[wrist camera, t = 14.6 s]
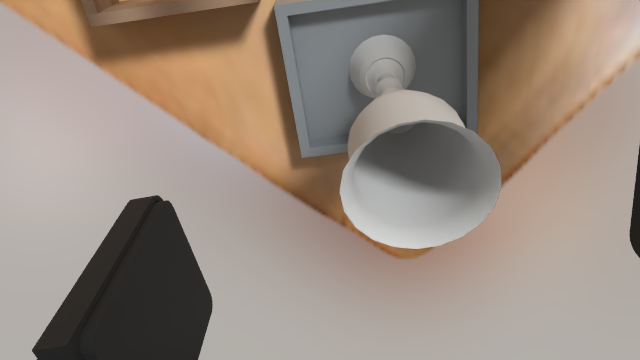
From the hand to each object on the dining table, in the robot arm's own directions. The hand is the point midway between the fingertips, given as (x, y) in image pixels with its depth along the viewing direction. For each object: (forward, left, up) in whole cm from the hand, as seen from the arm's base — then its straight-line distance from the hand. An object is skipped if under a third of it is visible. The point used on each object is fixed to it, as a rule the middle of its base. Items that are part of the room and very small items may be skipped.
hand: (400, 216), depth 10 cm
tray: (-2, +7, -30) cm, 31 cm away
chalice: (-2, +6, -29) cm, 30 cm away
